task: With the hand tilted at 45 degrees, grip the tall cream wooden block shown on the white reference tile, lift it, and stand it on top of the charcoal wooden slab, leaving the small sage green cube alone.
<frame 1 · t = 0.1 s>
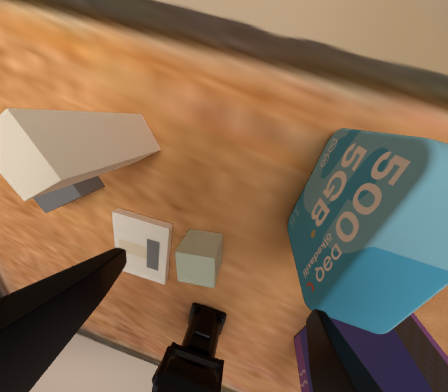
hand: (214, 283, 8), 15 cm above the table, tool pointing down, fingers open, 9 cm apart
cream block: (138, 139, 22), on the table
sage cube: (206, 244, 26), on the table
charcoal slab: (71, 170, 26), on the table
reference tile: (144, 246, 29), on the table
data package: (325, 187, 20), on the table
cereal box: (335, 314, 27), on the table
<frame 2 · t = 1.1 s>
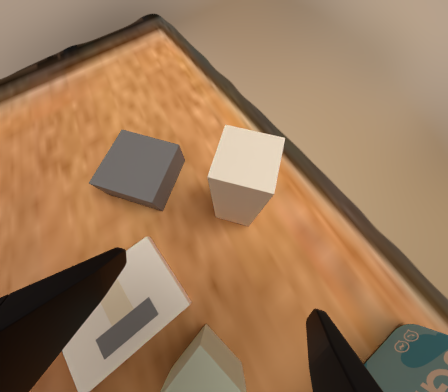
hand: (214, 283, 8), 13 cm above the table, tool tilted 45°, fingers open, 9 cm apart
cream block: (236, 205, 23), on the table
sage cube: (206, 364, 18), on the table
charcoal slab: (148, 177, 25), on the table
reference tile: (124, 304, 19), on the table
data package: (383, 380, 17), on the table
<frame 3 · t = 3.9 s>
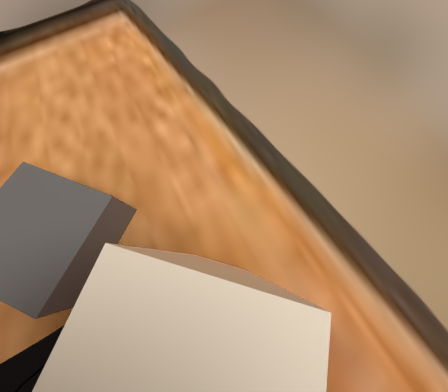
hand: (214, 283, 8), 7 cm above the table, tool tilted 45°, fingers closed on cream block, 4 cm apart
cream block: (213, 290, 14), on the table, touching gripper
charcoal slab: (75, 235, 16), on the table
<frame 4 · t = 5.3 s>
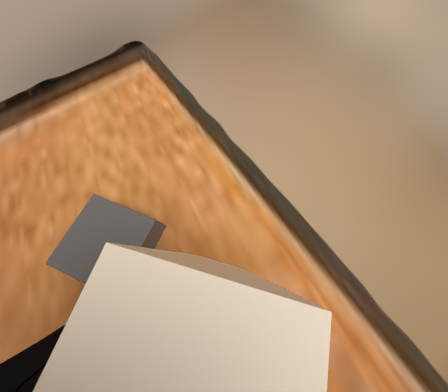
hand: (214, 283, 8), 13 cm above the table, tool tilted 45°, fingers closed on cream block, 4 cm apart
cream block: (213, 290, 14), point 7 cm above the table, touching gripper
charcoal slab: (123, 243, 22), on the table
when the fingers open (12 cm above the table, at t = 7.0 s): cream block drops 1 cm, resting on charcoal slab.
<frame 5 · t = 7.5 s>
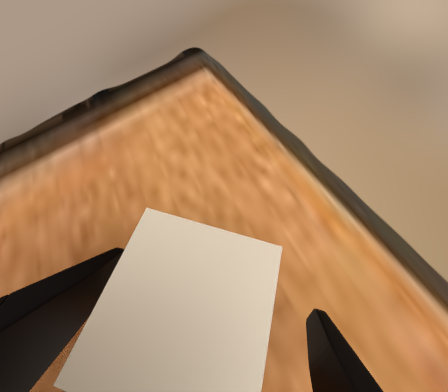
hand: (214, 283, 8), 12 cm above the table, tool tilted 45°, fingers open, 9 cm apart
cream block: (213, 288, 15), point 4 cm above the table, tilted 7°, touching charcoal slab
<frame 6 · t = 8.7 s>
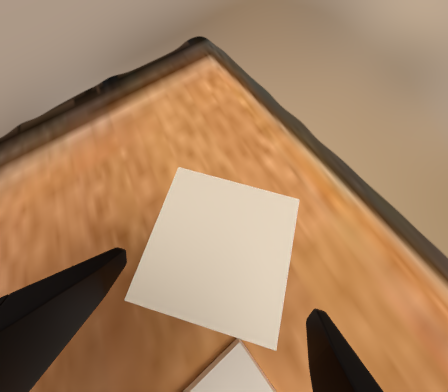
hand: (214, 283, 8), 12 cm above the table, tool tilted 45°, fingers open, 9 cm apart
cream block: (220, 250, 17), point 4 cm above the table, touching charcoal slab
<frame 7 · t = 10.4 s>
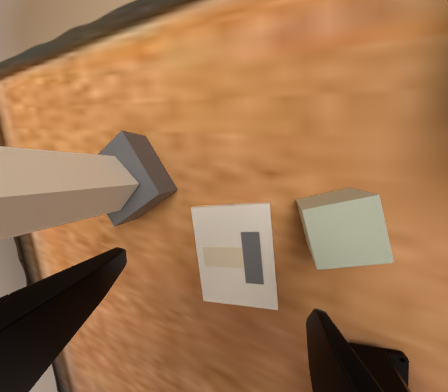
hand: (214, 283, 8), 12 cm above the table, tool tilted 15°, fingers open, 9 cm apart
cream block: (117, 183, 20), point 4 cm above the table, touching charcoal slab
sage cube: (327, 217, 18), on the table
charcoal slab: (143, 179, 24), on the table, touching cream block
reference tile: (235, 252, 21), on the table
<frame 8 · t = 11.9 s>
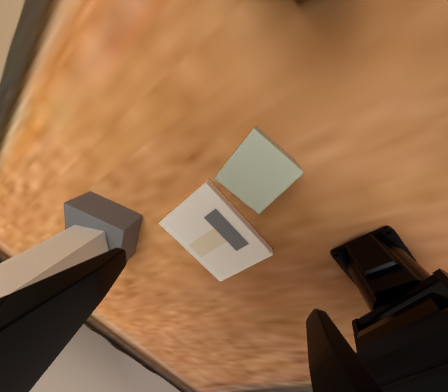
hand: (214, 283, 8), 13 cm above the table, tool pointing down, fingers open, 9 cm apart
cream block: (92, 242, 23), point 4 cm above the table, touching charcoal slab
sage cube: (257, 161, 18), on the table
charcoal slab: (115, 223, 26), on the table, touching cream block
reference tile: (216, 233, 23), on the table
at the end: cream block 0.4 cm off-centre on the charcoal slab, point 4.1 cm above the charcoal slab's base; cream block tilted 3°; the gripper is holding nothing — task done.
